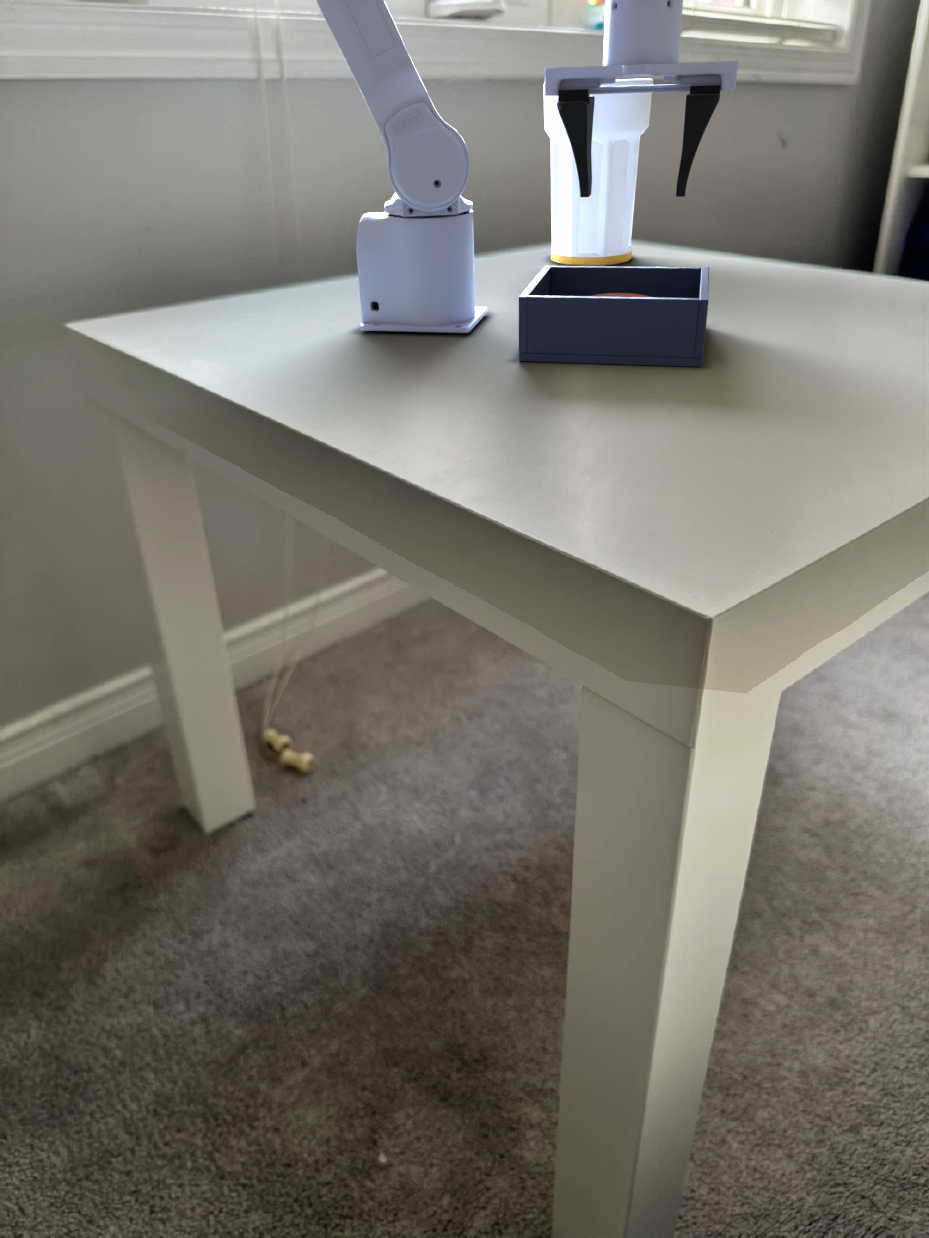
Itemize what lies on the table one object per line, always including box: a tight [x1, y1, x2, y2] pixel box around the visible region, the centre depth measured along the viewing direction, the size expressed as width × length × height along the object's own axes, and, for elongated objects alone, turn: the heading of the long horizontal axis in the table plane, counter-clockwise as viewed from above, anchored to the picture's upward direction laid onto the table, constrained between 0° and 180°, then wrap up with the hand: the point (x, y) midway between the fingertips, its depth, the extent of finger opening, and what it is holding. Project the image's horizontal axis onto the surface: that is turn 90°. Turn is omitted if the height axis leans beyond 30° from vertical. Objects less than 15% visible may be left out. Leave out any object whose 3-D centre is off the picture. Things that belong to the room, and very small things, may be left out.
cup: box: [543, 78, 654, 266], centre depth 99 cm, size 11×11×17 cm
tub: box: [518, 265, 710, 368], centre depth 70 cm, size 13×12×5 cm
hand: (632, 195), depth 75 cm, fingers open, 7 cm apart
